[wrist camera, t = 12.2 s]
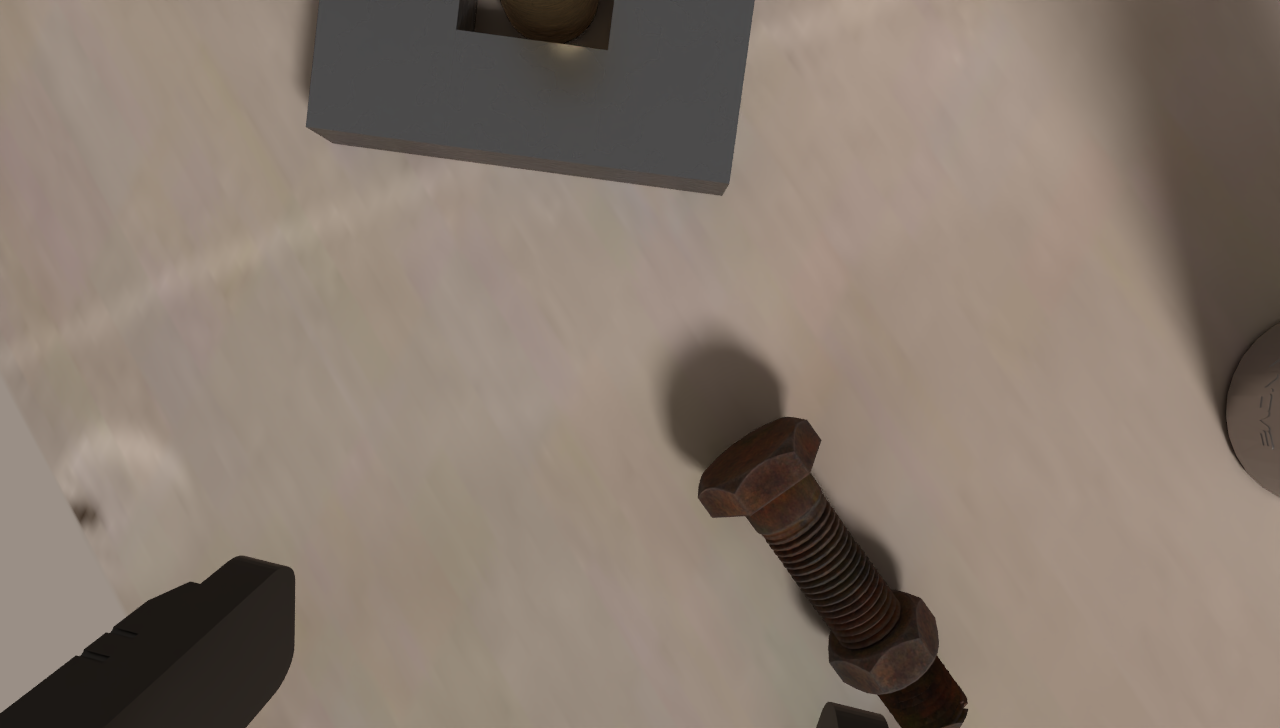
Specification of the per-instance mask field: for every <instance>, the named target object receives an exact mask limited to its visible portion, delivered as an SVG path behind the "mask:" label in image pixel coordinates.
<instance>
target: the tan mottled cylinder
mask: <svg viewBox="0 0 1280 728" xmlns="http://www.w3.org/2000/svg"><path fill="white" fill-rule="evenodd" d="M500 1H501V3H502V5H503V8H504V10H505V13H506V15H507V17H508V19H509V21H510V22H511V24H512V25H513V26H514V27H515V29H516V30H517V31H518V32H520V33H521V34H522V35H523V36H525V37H526V38H528V39H530V40H536V41H544V42H551V43H558V44H560V43H564V42H567V41H570V40H572V39H574V38H576V37H577V36H579V35H580V34H581V33H582V32H584V31H585V30H586V28H587V27H588V26H589V25H590V23H591V22H592V20H593V18H594V16H595V14H596V11H597V8H598V3H599V0H500Z"/></svg>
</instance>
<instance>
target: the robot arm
mask: <svg viewBox="0 0 1280 728" xmlns="http://www.w3.org/2000/svg"><path fill="white" fill-rule="evenodd" d="M1226 420H1227V426H1228V433H1229V438H1230V441H1231V443H1232V446H1233V449H1234V451H1235V454H1236V456H1237V458H1238V459H1239V461H1240V462H1241V464H1242V465H1243V467H1244V468H1245V470H1246V471H1247V473H1248V474H1249V475H1250V476H1251V477H1252V478H1253V479H1254V480H1255V481H1257V482H1258V483H1259V484H1260V485H1261V486H1262V487H1263V488H1265V489H1266V490H1268V491H1270V492H1271V493H1273V494H1275V495H1276V496H1278V497H1280V323H1278V324H1276V325H1274V326H1273V327H1272V328H1270V329H1269V330H1268V331H1267V332H1265V333H1264V334H1263V335H1262V336H1260V337H1259V338H1258V339H1257V340H1256V341H1255V342H1254V343H1253V345H1252V346H1251V347H1250V348H1249V350H1248V351H1247V352H1246V353H1245V354H1244V356H1243V357H1242V359H1241V361H1240V363H1239V365H1238V367H1237V369H1236V371H1235V373H1234V374H1233V378H1232V381H1231V385H1230V388H1229V392H1228V395H1227V409H1226ZM294 636H295V575H294V572H293V570H292V569H291V568H290V567H287V566H283V565H279V564H275V563H271V562H267V561H263V560H259V559H255V558H251V557H247V556H237V557H235V558H233V559H231V560H230V561H228V562H227V563H226V564H224V565H223V566H222V567H221V568H220V569H218V570H217V571H216V572H215V573H213V574H212V575H211V576H210V577H208V578H207V579H206V580H205V581H203V582H202V583H201V584H198V583H194V582H188V583H186V584H184V585H181V586H179V587H177V588H175V589H173V590H170V591H168V592H166V593H164V594H162V595H159V596H157V597H155V598H153V599H150V600H148V601H147V602H145V603H144V604H143V605H142V606H140V607H139V608H138V609H136V610H135V611H134V612H132V613H131V614H130V615H128V616H127V617H126V618H125V619H123V620H122V621H121V622H119V623H118V624H117V625H116V626H114V627H113V630H112V631H111V633H105V634H104V635H102V636H101V637H100V638H98V639H97V640H96V641H95V642H93V643H92V644H91V645H89V646H88V647H87V648H85V649H84V652H83V653H82V655H81V656H75V657H73V658H72V659H71V660H70V661H68V662H67V663H66V664H64V665H63V666H62V667H60V668H59V669H58V670H57V671H55V672H54V673H53V674H51V675H50V676H49V677H47V679H45V680H43V681H42V682H41V683H40V684H38V685H37V686H36V687H34V688H33V689H32V690H31V691H29V692H28V693H26V694H25V695H24V696H22V697H21V698H20V699H19V700H17V701H16V702H15V703H13V704H12V705H11V706H9V707H8V708H7V709H5V710H4V711H3V712H2V713H0V728H246V727H247V726H248V724H249V723H250V722H251V721H252V720H253V719H254V717H255V716H256V715H257V714H258V713H259V712H260V710H261V709H262V708H263V707H264V706H265V704H266V703H267V702H268V701H269V700H270V699H271V697H272V696H273V695H274V694H275V692H276V691H277V690H278V688H279V687H280V685H281V684H282V682H283V680H284V678H285V676H286V674H287V672H288V670H289V667H290V664H291V661H292V658H293V653H294ZM816 728H888V724H887V722H886V719H885V718H884V716H883V715H881V714H877V713H873V712H869V711H865V710H861V709H857V708H853V707H849V706H845V705H841V704H837V703H833V702H828V703H826V705H825V706H824V708H823V710H822V713H821V716H820V718H819V721H818V724H817V727H816Z"/></svg>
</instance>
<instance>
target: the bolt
mask: <svg viewBox="0 0 1280 728" xmlns="http://www.w3.org/2000/svg"><path fill="white" fill-rule="evenodd" d="M820 443H821V439H820V438H819V436H818V435H817V433H816V432H815V431H814V429H813V428H812V426H811V425H810V424H809V422H808V421H807V420H804V419H800V418H794V417H784V418H780V419H777V420H775V421H773V422H771V423H768V424H766V425H764V426H762V427H760V428H758V429H756V430H754V431H753V432H751V433H749V434H748V435H746V436H745V437H744V438H742V439H741V440H739V441H738V442H736V443H734V444H733V445H732V446H731V447H729V448H728V449H727V450H726V451H725V452H724V453H722V454H721V455H720V456H719V457H718V458H717V459H716V460H715V461H714V462H713V463H712V464H711V465H710V466H709V467H708V468H707V469H706V470H705V471H704V473H703V474H702V476H701V479H700V483H699V489H698V499H699V500H700V501H701V503H702V504H703V506H704V507H705V508H706V510H707V511H708V513H709V514H710V515H711V517H712V518H718V517H736V516H746V518H747V519H748V520H749V522H750V523H751V524H752V526H753V527H754V529H755V530H756V531H757V532H758V533H759V534H761V535H762V536H763V537H764V538H765V539H766V542H767V543H769V546H770V547H771V549H773V550H774V553H775V554H776V555H777V556H778V558H779V559H780V560H781V561H782V562H783V565H784V567H785V568H787V570H788V572H789V573H790V574H791V575H792V578H793V579H794V580H795V581H796V583H797V585H798V586H799V587H800V588H801V590H802V591H803V592H804V593H805V595H806V597H807V598H808V599H809V601H810V602H811V603H812V604H813V607H814V608H815V609H816V610H817V611H818V613H819V615H820V616H822V618H823V620H824V621H825V622H826V624H827V625H828V627H830V629H831V632H830V635H829V646H828V651H829V663H830V664H831V666H832V667H833V668H834V670H835V671H836V672H837V674H838V675H839V677H840V678H841V679H842V681H843V682H845V683H847V684H848V685H850V686H852V687H854V688H856V689H858V690H861V691H863V692H866V693H871V694H877V695H878V696H879V697H880V699H881V700H882V702H883V703H884V704H885V706H886V707H887V708H888V709H889V711H890V713H891V714H892V715H893V716H894V718H895V720H896V721H897V723H898V724H899V725H900V726H901V728H960V727H961V725H962V724H963V722H964V720H965V718H966V716H967V712H968V709H964V707H965V706H966V705H967V704H968V703H967V697H966V696H965V694H964V692H963V691H962V689H961V688H960V687H959V686H958V685H957V682H955V681H954V679H953V678H952V676H951V675H950V673H949V671H948V670H947V669H946V668H945V666H944V664H942V662H941V661H940V659H939V658H938V656H937V652H938V647H939V640H938V630H937V625H936V620H935V617H934V616H933V614H932V613H931V611H930V610H929V609H928V607H927V606H926V604H925V603H924V602H923V600H922V599H921V598H919V597H916V596H914V595H911V594H909V593H905V592H901V591H897V590H890V588H889V587H888V586H887V584H886V582H885V581H884V580H883V579H882V577H881V575H880V574H879V573H878V572H877V569H875V568H874V567H873V564H872V563H871V562H870V561H869V558H868V557H867V556H865V553H864V551H863V550H861V549H860V546H859V545H858V544H857V543H856V542H855V540H854V538H853V537H852V536H851V534H850V533H849V532H848V530H847V528H846V527H845V526H844V524H843V523H842V521H841V520H840V519H839V517H838V515H837V514H836V513H835V511H834V509H833V508H832V507H831V506H830V503H829V502H828V501H827V500H826V498H825V497H824V495H823V494H822V491H821V488H820V486H819V485H818V483H817V482H816V480H815V479H814V478H813V476H812V475H811V473H810V471H811V469H812V466H813V463H814V460H815V457H816V454H817V451H818V449H819V446H820Z"/></svg>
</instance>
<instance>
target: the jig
mask: <svg viewBox="0 0 1280 728" xmlns="http://www.w3.org/2000/svg"><path fill="white" fill-rule="evenodd" d="M477 1H478V0H319V9H318V18H317V28H316V37H315V46H314V56H313V65H312V74H311V84H310V93H309V102H308V112H307V121H306V127H307V128H309V129H310V130H312V131H314V132H315V133H317V134H319V135H320V136H322V137H324V138H325V139H327V140H329V141H330V142H332V143H335V144H342V145H349V146H357V147H364V148H372V149H379V150H387V151H394V152H402V153H409V154H416V155H424V156H431V157H439V158H446V159H454V160H461V161H468V162H476V163H483V164H491V165H498V166H506V167H513V168H520V169H528V170H535V171H543V172H550V173H558V174H565V175H572V176H580V177H587V178H595V179H602V180H610V181H617V182H624V183H632V184H639V185H647V186H654V187H662V188H669V189H676V190H684V191H691V192H699V193H706V194H714V195H721V196H722V195H723V193H724V192H725V190H726V188H727V187H728V185H729V181H730V174H731V167H732V160H733V153H734V145H735V138H736V131H737V124H738V116H739V109H740V102H741V95H742V88H743V80H744V73H745V66H746V59H747V51H748V44H749V37H750V30H751V22H752V15H753V8H754V1H755V0H614V6H613V14H612V21H611V29H610V37H609V45H608V50H603V49H595V48H588V47H581V46H573V45H566V44H558V43H551V42H544V41H536V40H529V39H522V38H514V37H507V36H499V35H492V34H485V33H477V32H474V27H475V18H476V10H477Z"/></svg>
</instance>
